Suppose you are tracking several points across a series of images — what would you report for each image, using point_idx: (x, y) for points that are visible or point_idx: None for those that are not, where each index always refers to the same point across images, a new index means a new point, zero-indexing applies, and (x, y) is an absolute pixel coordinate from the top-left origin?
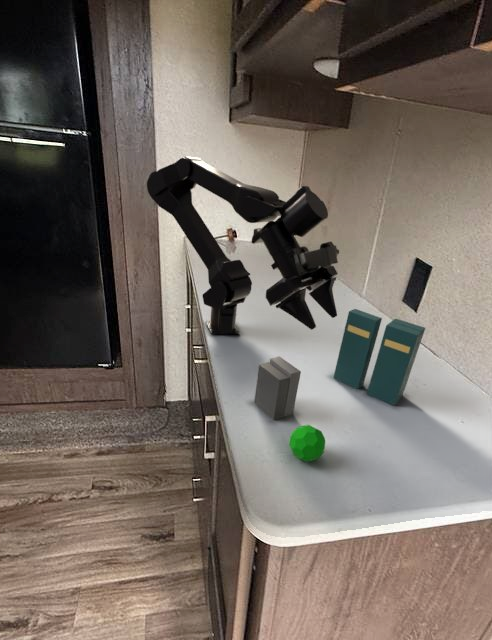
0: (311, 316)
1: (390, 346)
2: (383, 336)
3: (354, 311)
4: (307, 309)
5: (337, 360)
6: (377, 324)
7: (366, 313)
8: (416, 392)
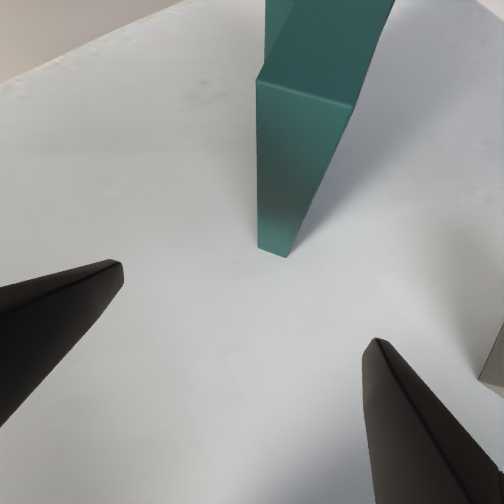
0: (417, 396)
1: None
2: (391, 5)
3: (332, 74)
4: (484, 476)
5: (292, 242)
6: None
7: (306, 11)
8: (248, 95)
